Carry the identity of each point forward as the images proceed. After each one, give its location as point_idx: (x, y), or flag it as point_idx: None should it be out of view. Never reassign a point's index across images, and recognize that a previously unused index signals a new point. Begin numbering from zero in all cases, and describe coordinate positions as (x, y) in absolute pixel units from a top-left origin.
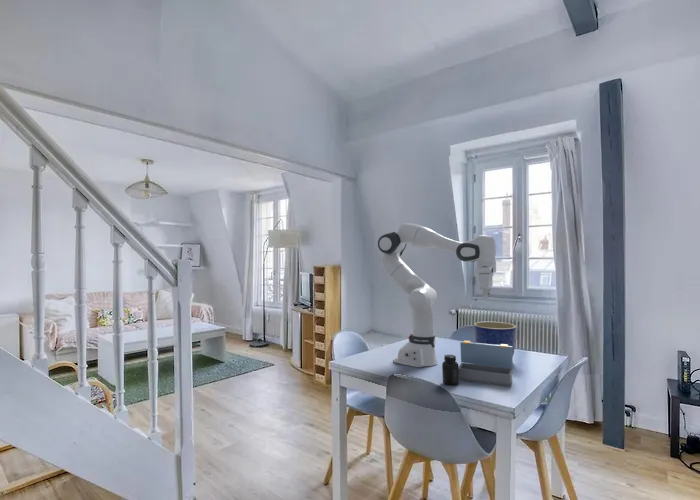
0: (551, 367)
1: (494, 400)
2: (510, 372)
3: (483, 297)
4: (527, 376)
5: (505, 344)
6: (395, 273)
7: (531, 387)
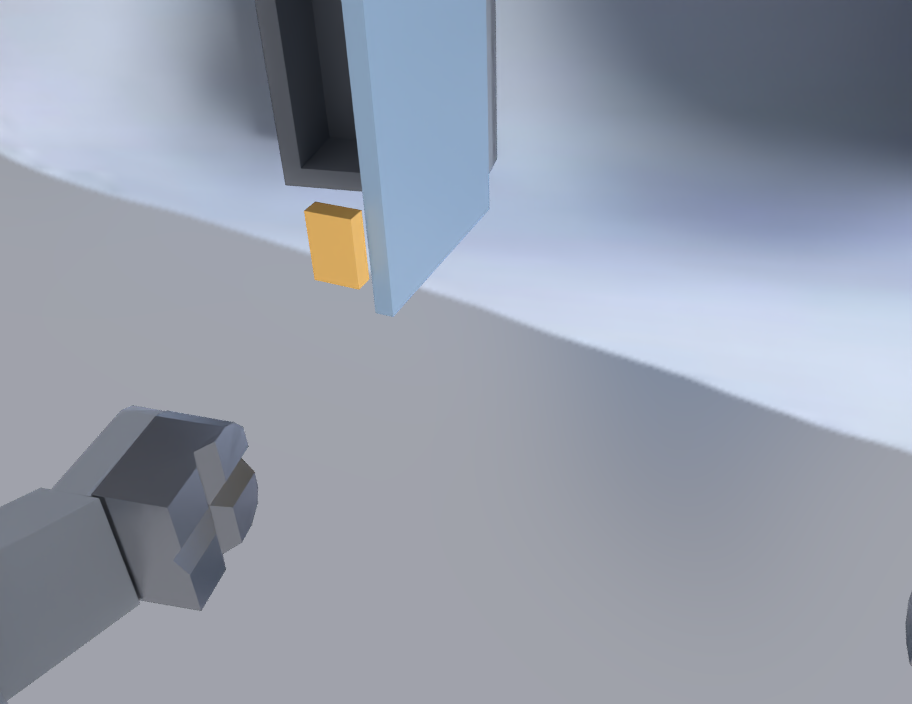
0: None
1: (6, 48)
2: (353, 185)
3: (113, 427)
4: (646, 270)
5: (349, 265)
6: None
7: None
